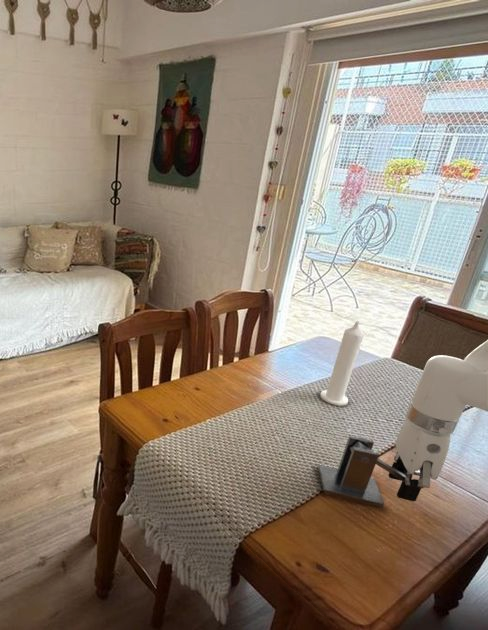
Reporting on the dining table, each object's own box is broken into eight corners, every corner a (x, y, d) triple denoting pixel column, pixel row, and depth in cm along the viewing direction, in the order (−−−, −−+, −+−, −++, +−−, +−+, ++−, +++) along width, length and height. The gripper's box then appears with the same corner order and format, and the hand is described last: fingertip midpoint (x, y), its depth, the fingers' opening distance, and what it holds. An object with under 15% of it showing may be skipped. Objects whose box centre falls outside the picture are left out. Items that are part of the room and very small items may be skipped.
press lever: (399, 475, 94) (408, 468, 93) (407, 492, 90) (416, 485, 88) (348, 444, 95) (356, 437, 94) (353, 459, 91) (362, 451, 90)
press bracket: (372, 481, 98) (388, 439, 93) (382, 508, 91) (400, 464, 86) (317, 468, 101) (330, 427, 97) (323, 493, 94) (337, 450, 90)
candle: (324, 389, 133) (347, 313, 123) (350, 399, 128) (376, 321, 118) (316, 398, 128) (339, 320, 118) (343, 408, 124) (369, 328, 114)
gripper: (475, 450, 77) (438, 525, 84) (437, 398, 91) (408, 466, 98) (424, 439, 79) (392, 514, 86) (395, 390, 94) (370, 457, 101)
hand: (401, 487), depth 92 cm, fingers closed on press lever, 5 cm apart
